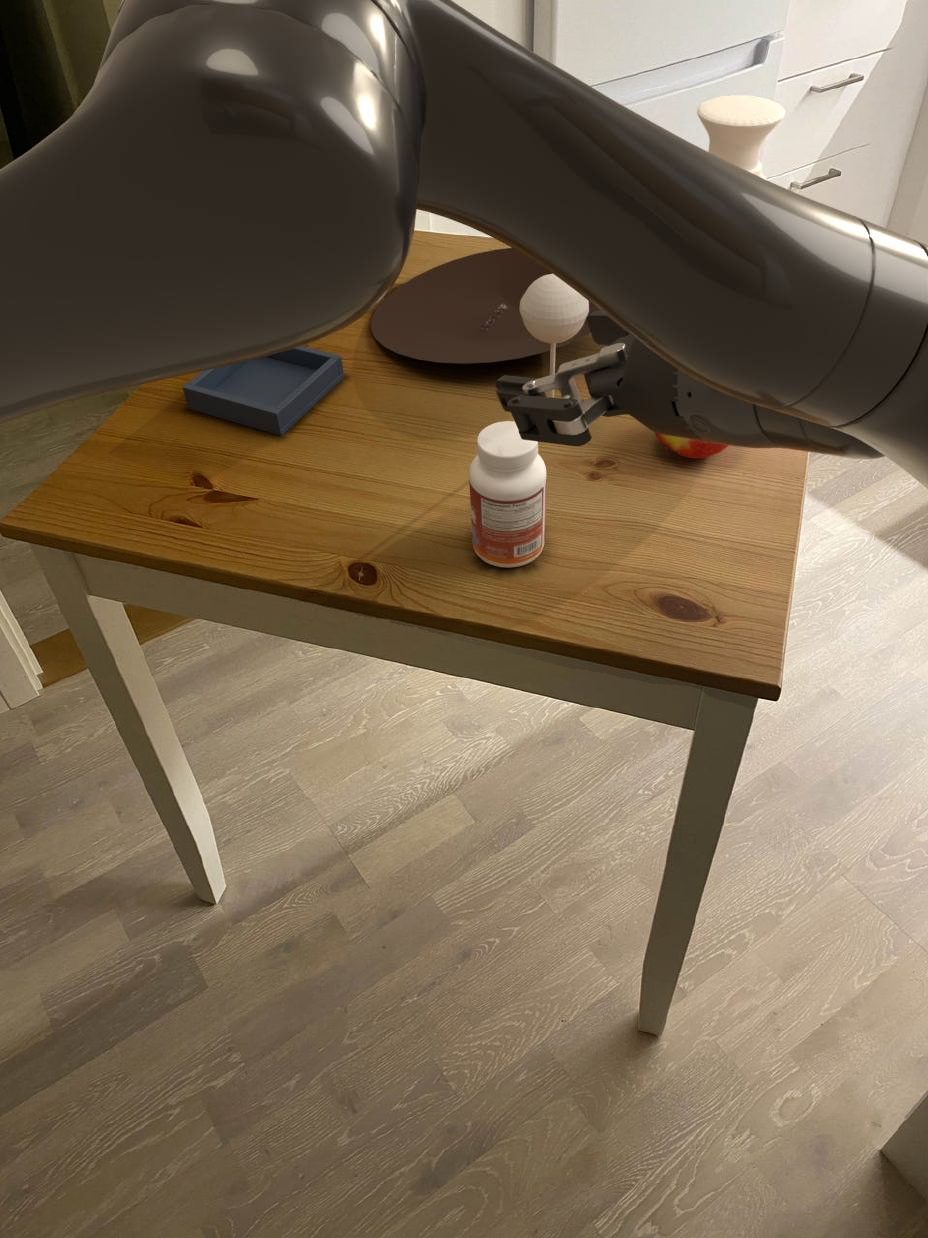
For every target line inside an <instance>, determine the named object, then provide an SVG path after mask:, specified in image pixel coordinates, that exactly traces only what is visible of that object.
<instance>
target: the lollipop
mask: <svg viewBox="0 0 928 1238" xmlns="http://www.w3.org/2000/svg"><path fill="white" fill-rule="evenodd" d="M588 312H589V301H588V300H587V299H586V298H584V297H583V296H582V295H581V294H580V293H578V292H577V291H576V290H574V289H573V288H572V287H570V286H569V285H568V284H566V283H565V282H563V281H562V280H561V279H559V278H558V277H557V276H555V275H554V274H549V275H545V276H542V277H540V278H539V279H537V280H535V281H534V282H533V283H532V284H531V285H530V286H529V287H528V289H527V291H526V292H525V294H524V295H523V297H522V299H521V301H520V313H521V316H522V319H523V322H524V325H525V327H526V328H527V330H528V331H529V332H530V333H531V334H532V335H533V336H534V337H535V338H537V339H539V340H540V341H543V342H546V343H551V348H550V351H549V352H550V353H549V376H550V375H553V374H556V373H555V372H556V348H555V347H556V343H561V342H564V341H566V340H568V339H570V338H572V337H573V336H574V335H576V334H577V333H578V332H579V330H580V329H581V327H582V326H583V324H584V321H585V319H586V317H587V315H588ZM548 397H551V398H555V389H553V390H550V391H548Z"/></svg>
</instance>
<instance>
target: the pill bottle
mask: <svg viewBox="0 0 928 1238" xmlns="http://www.w3.org/2000/svg"><path fill="white" fill-rule="evenodd" d="M476 445H477V446H476V449H477V450H476V452H477V455H475V457H474V458H473V459H472V461H471V463H470V466H469V471H468V472H469V473H468V481H469V482H468V483H469V504H470V524H471V526H470V527H471V541H472V542H471V543H472V547H473V550H474V552H475V554H476V555H477V556H478V557H479V558H480V559H481V560H482V561H483V562H485V563H487V564H488V565H492V566H494V567H498V568H517V567H522V566H525V565H528V564H529V563H532V562H533V561H534V560H536V559H537V558H538V557H539V556H540V555H541V553H542V551H543V550H544V547H545V542H546V510H547V509H546V508H547V507H546V506H547V505H546V504H547V479H548V478H547V467H546V464H545V461H544V460H543V458H542V456H541V455H540V454H539V442H538V441H530V440H523V439H521V437H520V434H519V430H518V428H517V425H516V423H515V421H513V420H506V421H505V420H504V421H497V422H494V423H492V424H489V425H487V426H485V427H484V428H483V429H481V431H479V434H478V436H477V441H476Z"/></svg>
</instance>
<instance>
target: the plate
mask: <svg viewBox="0 0 928 1238" xmlns="http://www.w3.org/2000/svg"><path fill="white" fill-rule="evenodd" d="M549 274H553V273H551V272H550V271H549V270H547V269H546V268H544V267H543V266H541V265H540V264H538V263H536V262H535V261H533V260H531V259H530V258H528V257H526V256H525V255H523V254H521V253H520V252H518V251H516V250H515V249H513V248H512V247H506V248H498V249H492V250H491V249H490V250H487V251H482V252H477V253H473V254H470V255H466V256H463V257H459V258H455V259H453V260H451V261H447V262H444V263H442V264H439V265H437V266H434V267H432V268H430V269H428V270H426V271H424V272H422V273H420V274H418V275H416V276H414V277H412V278H411V279H409V280H408V281H406V282H404V283H403V284H401V285H400V286H398V287H397V288H396V289H395V290H394V291H392V292H391V293H390V294H388V295H387V296H385V298H383V300H382V301H381V303H380V304H378V306H377V307H376V309H375V311H374V312H373V314H372V317H371V319H370V330H371V332H372V335H373V337H374V339H375V340H376V341H378V343H380V344H381V346H383V347H384V348H386V349H387V350H390V351H391V352H394V353H396V354H398V355H401V356H405V357H407V358H408V357H409V358H412V359H414V360H420V361H427V362H434V363H442V364H443V363H444V364H463V365H464V364H481V363H482V364H483V363H495V362H496V363H497V362H503V361H509V360H510V361H511V360H517V359H518V360H519V359H522V358H526V357H530V356H531V357H532V356H534V355H539V354H544V353H546V352H550V348H551V343H546V342H543V341H540V340H539V339H537V338H535V337H534V336H533V335H532V334H531V333H530V332H529V331H528V330H527V328H526V327H525V325H524V322H523V319H522V316H521V313H520V301H521V299H522V297H523V295H524V294H525V292H526V291H527V289H528V287H529V286H530V285H531V284H532V283H533V282H534V281H535V280H537V279H539V278H540V277H542V276H545V275H549ZM594 311H601V310H599V309H598V308H597V307H596V306H594V305H593V304H592V303H591V302H589V312H588V315H587V316H589V315H590V314H592V313H593V312H594ZM589 334H591V332H590V329H589V326H588V324H587V317H586V319H585V321H584V324H583V326H582V327H581V329H580V330H579V332H578V333H577V334H576V335H574V336H573V337H572V338H570V339H568V340H566V341H564V342H561V343H556V347H555V349H559V348H561V347H564V346H567V345H570V344H572V343H573V342H575V341H577V340H579V339H581V338H584V337H586V336H587V335H589Z"/></svg>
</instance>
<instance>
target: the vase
mask: <svg viewBox="0 0 928 1238" xmlns="http://www.w3.org/2000/svg"><path fill="white" fill-rule="evenodd" d="M696 114H697V117H698V118H699V120H700V122H701V124H702V125H703V127H704V129H705V130H706V133H707V135H708V139H709V142H708V143H709V144H708V151H707V152H709V153H711V154H713V155H715V156H717V157H719V158H721V159H723V160H725V161H727V162H729V163H731V164H734V165H736V166H738V167H740V168H742V169H744V170H746V171H748V172H750V173H753V174H755V175H757V176H759V177H761V178H763V179H765V180H767V181H768V178H767V177H766V176H765V174H763V171H762V170H763V165H762V163H761V161H760V157H761V152H762V146H763V144H764V140H765V139H766V138H767V137H768V135H769V134H770V133H771V132H772V131H773V130H774V129H775V128H776V127H777V126H778V125H779V123H781V121H782V120H783V119H784V118H785V115H786V110H785V109H784V106H782V105H781V104H779V103H778V102H776V101H774V100H772V99H768V98H765V97H761V96H755V95H746V94H734V95H732V94H731V95H730V94H729V95H722V96H716V97H712V98H709V99H707V100H705V101H703V102H702V103H700V104H699V105H698V106H697V108H696Z"/></svg>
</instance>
